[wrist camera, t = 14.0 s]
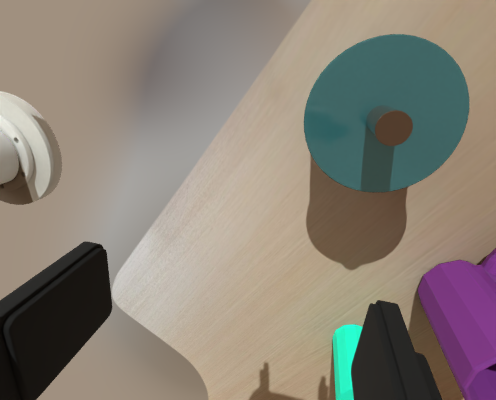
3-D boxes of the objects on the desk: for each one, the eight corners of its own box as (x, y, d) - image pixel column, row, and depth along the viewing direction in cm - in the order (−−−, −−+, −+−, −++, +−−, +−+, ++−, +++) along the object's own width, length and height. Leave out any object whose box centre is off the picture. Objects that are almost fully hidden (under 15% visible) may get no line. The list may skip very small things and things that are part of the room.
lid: (276, 133, 28) (267, 145, 23) (376, 0, 23) (392, -22, 18) (381, 213, 29) (394, 242, 24) (500, 101, 24) (550, 108, 19)
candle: (333, 321, 46) (338, 396, 36) (376, 327, 45) (394, 406, 34) (331, 351, 49) (335, 431, 38) (371, 357, 47) (387, 441, 36)
